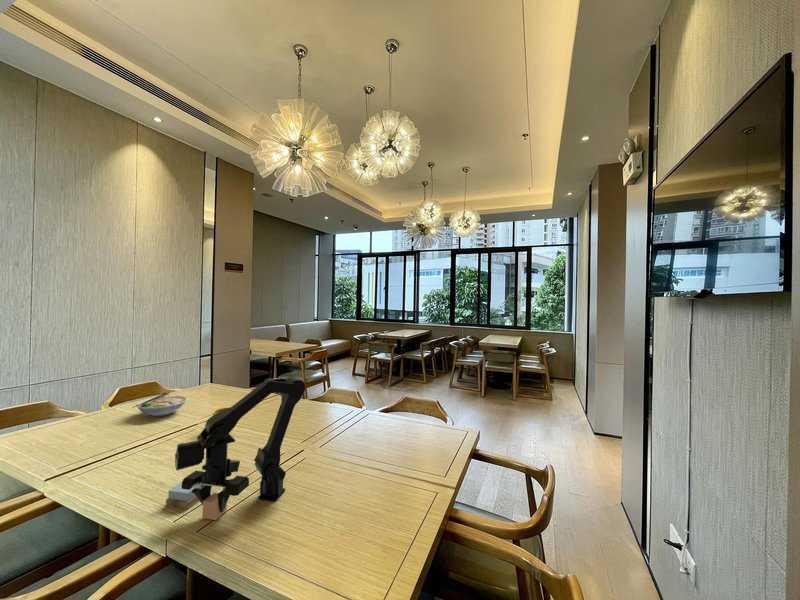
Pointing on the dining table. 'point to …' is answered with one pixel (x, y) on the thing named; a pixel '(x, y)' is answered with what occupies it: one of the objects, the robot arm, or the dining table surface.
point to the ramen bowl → (161, 404)
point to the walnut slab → (182, 503)
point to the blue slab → (181, 493)
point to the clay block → (212, 507)
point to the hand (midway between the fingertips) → (214, 510)
